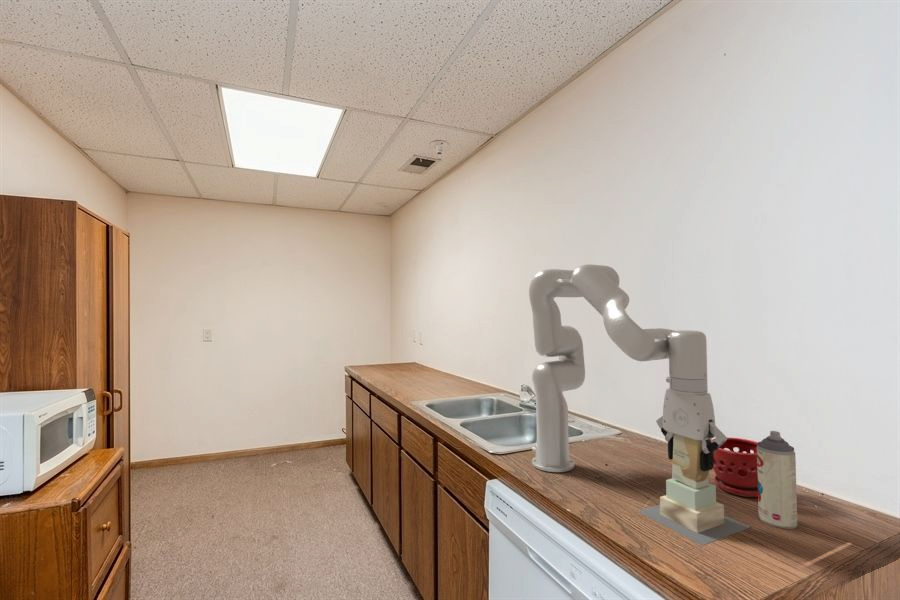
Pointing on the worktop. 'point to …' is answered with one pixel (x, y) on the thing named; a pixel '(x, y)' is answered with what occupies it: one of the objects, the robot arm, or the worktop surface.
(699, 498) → the top block
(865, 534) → the worktop surface
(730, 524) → the mat
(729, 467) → the plant pot
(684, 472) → the skincare box
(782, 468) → the aerosol can
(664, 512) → the base block
